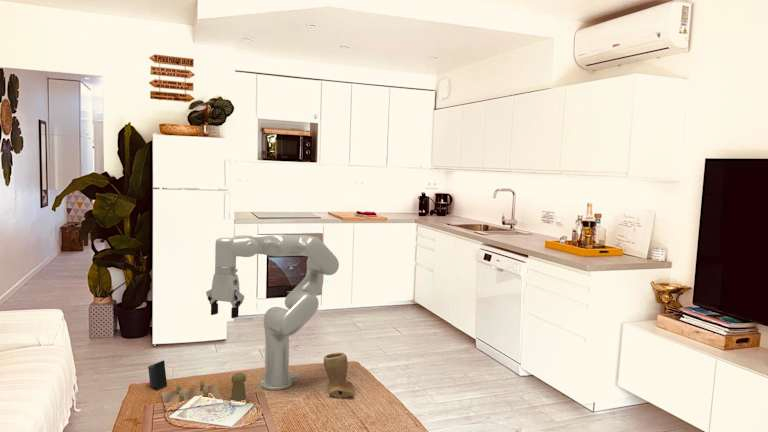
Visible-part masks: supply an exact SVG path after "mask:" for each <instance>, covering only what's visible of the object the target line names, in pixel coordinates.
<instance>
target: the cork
mask: <svg viewBox="0 0 768 432" xmlns="http://www.w3.org/2000/svg"><path fill="white" fill-rule="evenodd" d="M230 380H231V383H232V387H231V394H230V400H236V401H241V400H245V399H246V400H247V394H246V385H245V382H246V381H247V376H246V374H245V373H243V372H237V373H234V374H232V375H231V379H230Z"/></svg>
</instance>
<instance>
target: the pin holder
mask: <svg viewBox="0 0 768 432" xmlns="http://www.w3.org/2000/svg"><path fill="white" fill-rule="evenodd" d="M208 393H211V394H213V396H214V397H215V398H217V399H223V400H224V398H223V395H222V393H221V392H220V389H219V387H218V386H217V384H213V385H205V379H203V378H202V379H200V380H199V386H198V387H190V388H183V389H182V382H181V381H180V382H179V381H178V382H176V389H174V390H168V391H161V393H160V395H161V400H162V404H163V403H169V402H182V401H185V400H189V399H191V398H192V397H194V396H198V395H202V394H203V397H208Z"/></svg>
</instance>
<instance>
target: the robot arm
mask: <svg viewBox="0 0 768 432" xmlns="http://www.w3.org/2000/svg"><path fill="white" fill-rule="evenodd" d="M214 253H215V255H214V258H215V259H214V274H213V277H212V281H211V282H212V283H211V289H208V290H207V291H206V292H205V294H206V297H207V300H208V301H209V305H210V315H211V316H215V315H217V314H219V303H218V302H227V303H230V304H231V306H232V307H231V310H230V311H231V312H230V313H231V316H230V317H231V319H235V318H238V317H239V307H241V305H242V304H243V301H244V299H245V295H244V294H242V293H241V291H240V280H239V275H238V274H236V273H238V272H239V271H238V269H237V257H241V258H251V257H254V256H255V255H265V256H271V257H293V256H294V257H296V256H297V257H298V256H303V257H308V258H307V260H306V274H305V276H304V277H303V279H302V280H301V281H300V283H298V284H297V285H296V286H295V287H294V288H293V289H292V290H291V291H290V292H289V293H288V294H287V295H286V297H285V298H284V305H285V307H286V308H284V307H279V306H273V307H270V308H268V309H267V310H266V312H265V313H264V317H263V327H264V328H263V329H264V334H265V336H264V337H265V343H264V345H265V347H264V351H265V352H264V379H262V380H261V381H260V387H262V388H263V389H265V390H272V391H278V390H279V391H280V390H284V389H288V388H290V387H291V386H292V385H293V379H294V380H295V379H300V378H301V374H300V373H298V372H297V373H296V372H295V371H294V372H290V369H289V367H290V362H289V361H290V338H289V337H290V336H294V335H296V333H298V332H299V331H300V330H301V329H302V328H303V327H304V325H306V324H307V323H308V322H309V320H311V319H312V318H313V316H314V315H315V314H316V313H317V311H318V309H319V299H318V297H317V295H318V294H319V293H320V291H321V290H322V288H323V285H324V278H325V277H324V275H325V276H332V275H335V274H336V273H337V272H338V270H339V266H340V264H339V263H340V262H339V259H338V258H337V257H336V255H335V253H333V252H332V251H331V249H329V247H328V246H327V245H326V244H325V243H324V242H323V241H322V240H321V239H320V238H318V237H316V236H312V235H304V234H290V235H289V234H285V235H283V234H282V235H281V234H273V235H271V234H269V235H256V234H255V235H250V234H249V235H235V236H233V237H219V238H217V239H216V240H215V249H214Z"/></svg>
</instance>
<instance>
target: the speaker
mask: <svg viewBox="0 0 768 432" xmlns="http://www.w3.org/2000/svg"><path fill="white" fill-rule="evenodd" d="M147 368H148V377H149V386H150V388H155V389H156V391H159V390H162V389H164V388H166V387H168V382H167V381H168V380H167V374H166V363H165V360H164V359H163V360H161V361H158V362H156V363H153V364H150V365H149V366H147Z"/></svg>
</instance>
